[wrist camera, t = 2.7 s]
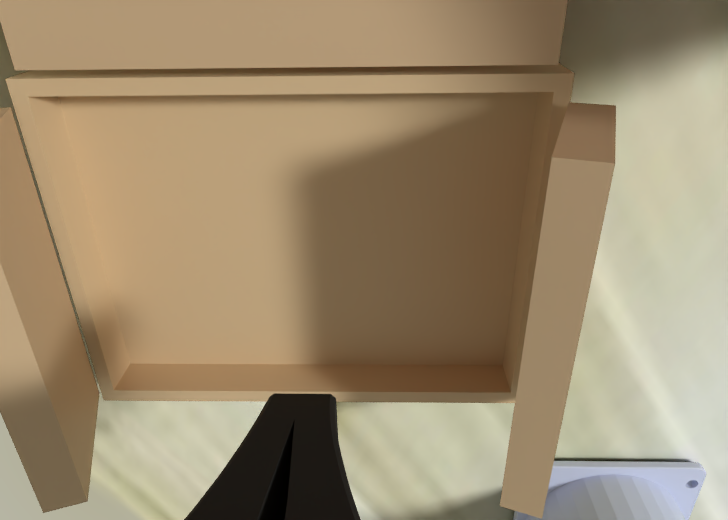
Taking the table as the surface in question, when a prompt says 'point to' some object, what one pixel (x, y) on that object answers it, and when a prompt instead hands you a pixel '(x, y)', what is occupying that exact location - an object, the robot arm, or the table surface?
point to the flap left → (40, 343)
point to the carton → (294, 189)
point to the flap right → (558, 298)
